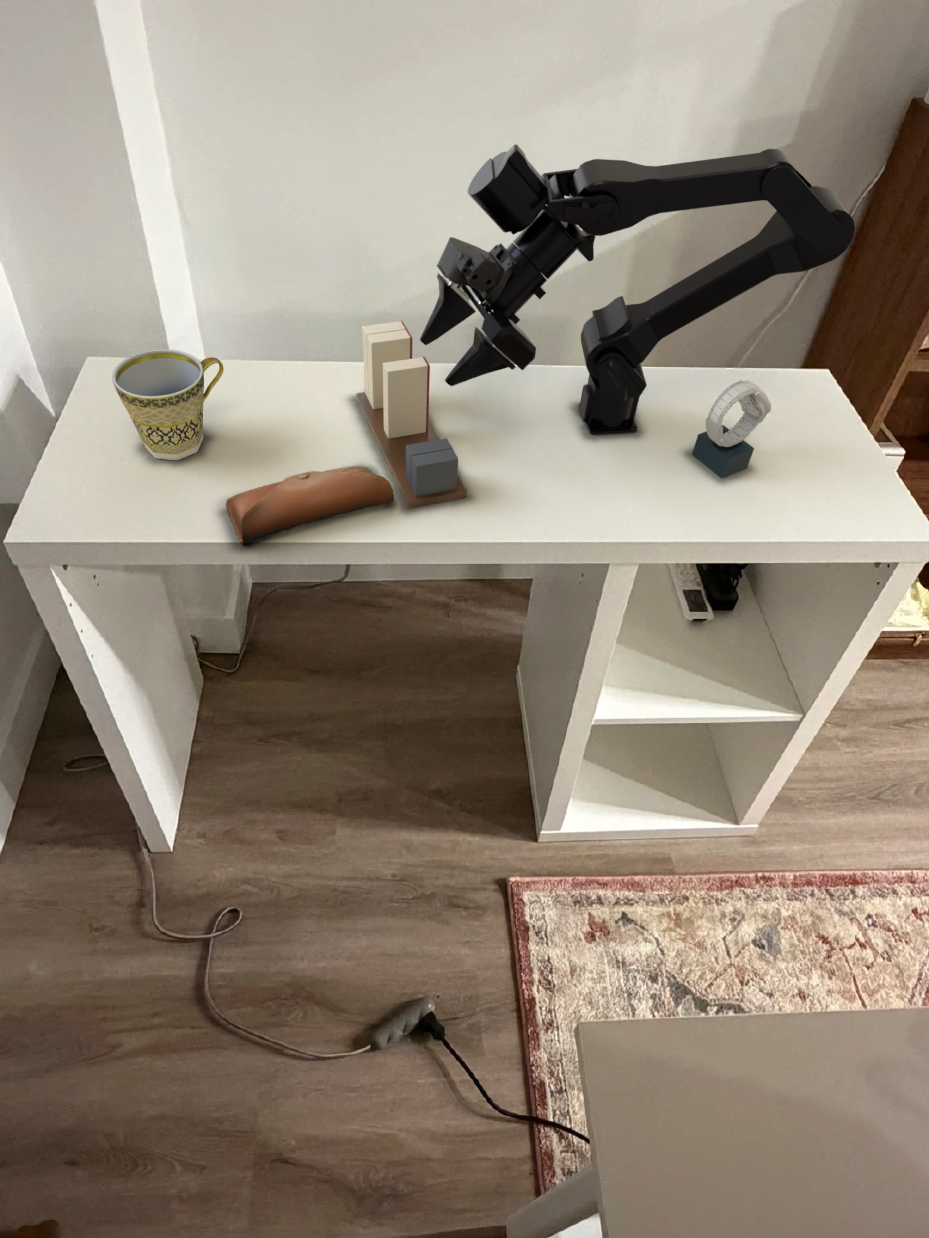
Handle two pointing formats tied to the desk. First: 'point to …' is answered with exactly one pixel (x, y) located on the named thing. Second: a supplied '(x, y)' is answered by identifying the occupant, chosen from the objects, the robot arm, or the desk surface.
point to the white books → (382, 355)
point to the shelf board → (403, 456)
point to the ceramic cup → (165, 399)
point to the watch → (728, 446)
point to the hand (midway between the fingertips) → (434, 362)
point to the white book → (406, 397)
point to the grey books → (431, 467)
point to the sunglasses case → (305, 500)
